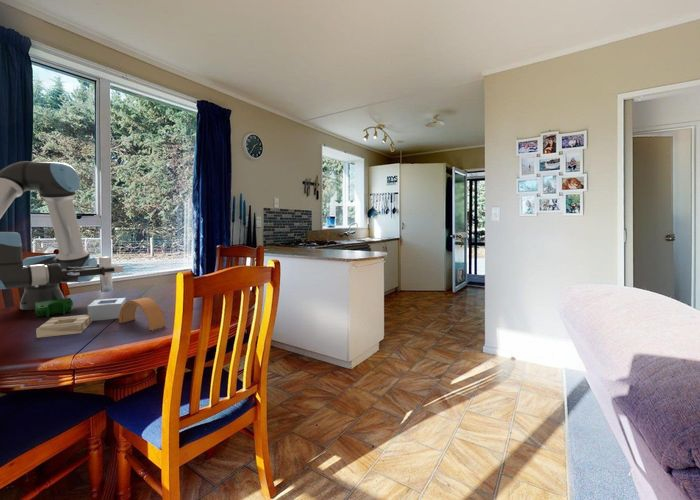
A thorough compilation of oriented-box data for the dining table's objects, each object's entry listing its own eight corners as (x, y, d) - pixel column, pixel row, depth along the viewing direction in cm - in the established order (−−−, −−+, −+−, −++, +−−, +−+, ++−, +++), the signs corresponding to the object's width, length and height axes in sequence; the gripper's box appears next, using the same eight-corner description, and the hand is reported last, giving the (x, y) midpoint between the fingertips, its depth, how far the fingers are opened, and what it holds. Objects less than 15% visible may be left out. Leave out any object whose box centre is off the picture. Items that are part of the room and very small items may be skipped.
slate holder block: (95, 314, 140) (94, 300, 140) (126, 311, 145) (125, 297, 145) (88, 321, 130) (87, 306, 130) (121, 318, 135) (121, 303, 135)
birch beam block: (52, 325, 125) (51, 317, 124) (91, 321, 130) (91, 314, 130) (36, 337, 112) (36, 329, 112) (81, 333, 117) (80, 324, 117)
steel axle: (101, 290, 137) (100, 256, 136) (113, 289, 139) (111, 256, 138) (99, 292, 134) (97, 257, 133) (111, 291, 136) (109, 257, 134)
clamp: (44, 327, 136) (32, 311, 131) (42, 321, 139) (29, 304, 134) (79, 311, 143) (68, 295, 138) (75, 306, 146) (64, 289, 142)
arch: (150, 331, 120) (148, 304, 119) (118, 323, 129) (117, 297, 128) (165, 327, 125) (164, 301, 124) (134, 319, 134) (133, 294, 134)
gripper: (42, 281, 128) (114, 274, 146) (51, 287, 117) (128, 279, 135) (41, 262, 127) (114, 257, 145) (50, 266, 116) (127, 260, 134)
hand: (120, 268), depth 140 cm, fingers closed on steel axle, 4 cm apart
